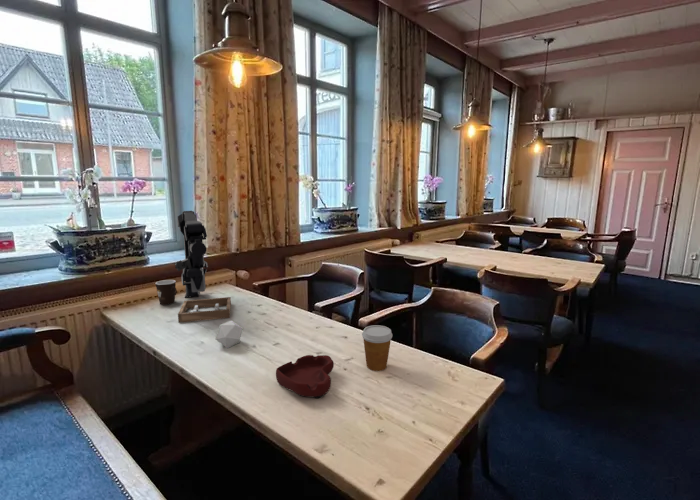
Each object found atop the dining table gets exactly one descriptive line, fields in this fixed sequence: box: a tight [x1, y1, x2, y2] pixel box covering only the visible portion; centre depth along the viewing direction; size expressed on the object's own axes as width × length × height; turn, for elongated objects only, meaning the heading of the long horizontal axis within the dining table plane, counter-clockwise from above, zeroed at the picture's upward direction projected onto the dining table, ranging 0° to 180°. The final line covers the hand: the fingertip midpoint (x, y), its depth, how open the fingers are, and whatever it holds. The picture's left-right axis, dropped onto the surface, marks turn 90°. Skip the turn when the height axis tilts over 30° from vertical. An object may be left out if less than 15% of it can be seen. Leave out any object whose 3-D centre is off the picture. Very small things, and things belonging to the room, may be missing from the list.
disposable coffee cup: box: [361, 324, 393, 372], centre depth 118 cm, size 10×10×12 cm
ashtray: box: [275, 354, 335, 399], centre depth 109 cm, size 18×16×5 cm
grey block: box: [191, 274, 206, 293], centre depth 164 cm, size 5×5×7 cm
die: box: [215, 319, 244, 349], centre depth 134 cm, size 8×9×10 cm
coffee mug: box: [154, 279, 178, 306], centre depth 177 cm, size 12×9×10 cm
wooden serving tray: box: [177, 296, 232, 323], centre depth 166 cm, size 18×20×4 cm
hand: (198, 287), depth 164 cm, fingers closed on grey block, 5 cm apart
